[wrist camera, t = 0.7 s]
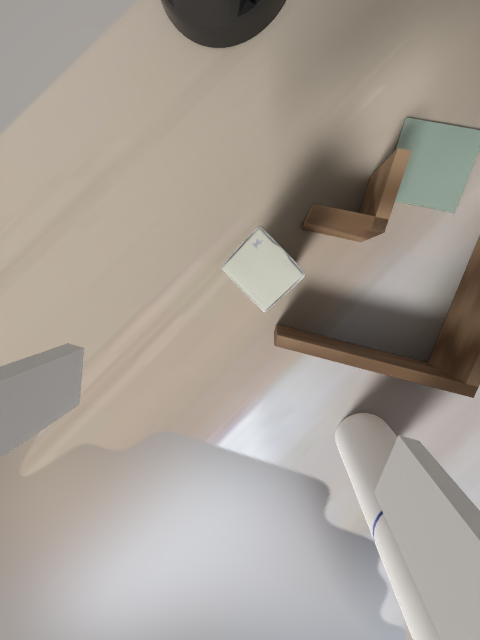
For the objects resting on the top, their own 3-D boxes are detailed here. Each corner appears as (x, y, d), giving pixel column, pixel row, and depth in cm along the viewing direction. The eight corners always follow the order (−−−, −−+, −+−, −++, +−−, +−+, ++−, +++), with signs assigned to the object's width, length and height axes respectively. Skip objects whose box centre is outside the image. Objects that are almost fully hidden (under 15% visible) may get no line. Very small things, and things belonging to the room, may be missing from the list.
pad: (405, 119, 26) (406, 117, 26) (483, 133, 25) (486, 131, 25) (379, 198, 27) (380, 197, 27) (453, 213, 27) (455, 212, 26)
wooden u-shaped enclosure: (319, 166, 28) (332, 135, 22) (506, 202, 26) (574, 180, 20) (273, 333, 32) (274, 345, 26) (433, 374, 30) (473, 397, 24)
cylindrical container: (351, 403, 32) (616, 819, 7) (402, 427, 32) (854, 945, 7) (325, 446, 33) (474, 909, 9) (373, 469, 33) (665, 1017, 9)
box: (238, 270, 31) (215, 265, 18) (263, 244, 30) (257, 220, 17) (267, 300, 31) (264, 315, 18) (292, 275, 30) (308, 273, 17)
